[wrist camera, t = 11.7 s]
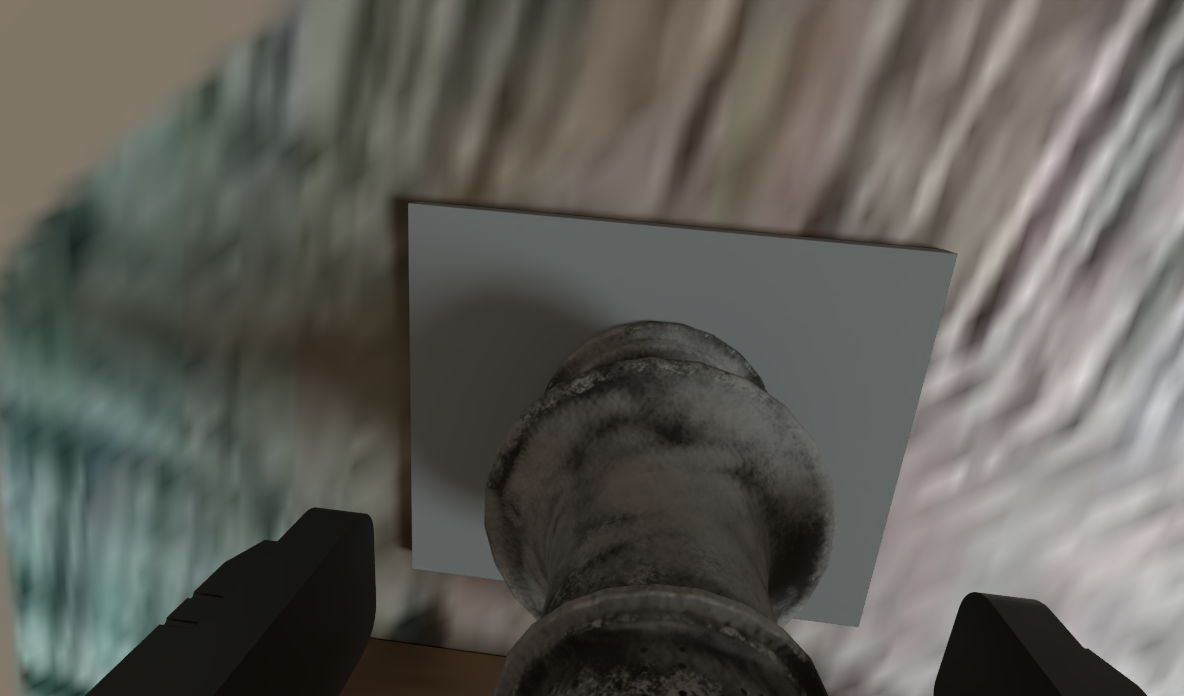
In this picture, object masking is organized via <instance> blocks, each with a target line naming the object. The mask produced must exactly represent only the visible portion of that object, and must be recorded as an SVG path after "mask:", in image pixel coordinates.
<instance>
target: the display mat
mask: <svg viewBox="0 0 1184 696" xmlns="http://www.w3.org/2000/svg"><path fill="white" fill-rule="evenodd" d="M408 236H409V322H410V407H411V493H412V569H419V570H427V571H434V572H442V573H449V574H457V575H465V576H472V577H480V578H488V579H495V580H503V581H505V580H504V579H503V577H502V575H501V574H500V572H499V570H498V568H497V567H496V565H495V563H494V559H493V556H492V552H491V548H490V545H489V541H488V538H487V534H486V530H485V527H484V518H485V485H486V482H487V479H488V476H489V473H490V470H491V467H492V464H493V461H494V458H495V455H496V452H497V449H498V447H499V445H500V444H501V442H502V441H503V439H504V438H505V436H506V435H507V434H508V432H509V431H510V429H511V428H512V426H513V425H514V424H515V422H516V421H517V419H518V418H519V416H520V415H521V414H522V412H523V411H524V410H525V409H526V408H528V407H529V406H530V405H531V404H533V403H534V402H535V401H536V400H538V399H539V398H540V397H541V396H543V395H544V394H545V391H546V388H547V385H548V383H549V381H550V380H551V378H552V377H553V376H554V374H555V373H556V371H557V370H558V369H559V367H560V366H561V364H562V363H563V361H564V360H565V359H566V358H567V357H568V356H569V355H570V354H572V353H573V352H574V351H575V350H577V349H578V348H579V347H580V346H582V345H583V344H584V343H585V342H586V341H588V340H589V339H591V338H593V337H595V336H598V335H600V334H602V333H604V332H606V331H609V330H611V329H613V328H615V327H618V326H623V325H629V324H635V323H641V322H647V321H657V322H668V323H679V324H685V325H688V326H691V327H693V328H696V329H699V330H702V331H705V332H707V333H710V334H713V335H715V336H717V337H718V338H719V339H721V340H722V341H724V342H725V343H727V344H728V345H730V346H731V347H732V348H734V349H735V350H737V351H738V352H740V353H741V354H742V355H743V357H744V358H745V359H746V360H747V361H748V363H749V364H750V365H751V366H752V367H753V369H754V370H755V371H756V372H757V373H758V375H759V376H760V377H761V379H762V381H763V383H764V386H765V388H766V390H767V393H768V394H769V395H771V396H772V397H774V398H775V399H777V400H778V401H780V402H781V403H782V404H784V405H785V406H786V407H787V408H788V409H789V410H790V412H791V413H792V414H793V415H794V416H795V418H796V419H797V420H798V421H799V422H800V424H801V425H802V426H803V427H804V428H805V430H806V431H807V432H808V433H809V434H810V436H811V437H812V438H813V439H814V440H815V442H816V444H817V446H818V448H819V451H820V453H821V456H822V458H823V460H824V463H825V465H826V467H827V470H828V472H829V474H830V477H831V479H832V482H833V484H834V494H835V504H836V515H837V525H838V526H837V531H836V535H835V540H834V545H833V549H832V554H831V558H830V563H829V567H828V568H827V570H826V572H825V574H824V576H823V577H822V579H821V581H820V583H819V584H818V586H817V588H816V590H815V592H814V593H813V595H812V597H811V599H810V601H809V602H808V603H807V604H806V605H805V606H804V607H803V608H802V609H801V610H800V611H799V612H798V613H797V614H796V615H795V616H794V617H793V619H801V620H808V621H816V622H824V623H831V624H839V625H847V626H854V627H858V626H859V623H860V619H861V615H862V611H863V608H864V604H865V600H866V596H867V593H868V589H869V585H870V581H871V578H872V574H873V570H874V566H875V563H876V559H877V555H878V551H879V548H880V544H881V540H882V536H883V532H884V529H885V525H886V521H887V517H888V514H889V510H890V506H891V502H892V499H893V495H894V491H895V487H896V484H897V480H898V476H899V472H900V469H901V465H902V461H903V457H904V454H905V450H906V446H907V442H908V439H909V435H910V431H911V427H912V424H913V420H914V416H915V412H916V409H917V405H918V401H919V397H920V394H921V390H922V386H923V382H924V379H925V375H926V371H927V367H928V363H929V360H930V356H931V352H932V348H933V345H934V341H935V337H936V333H937V330H938V326H939V322H940V318H941V315H942V311H943V307H944V303H945V300H946V296H947V292H948V288H949V285H950V281H951V277H952V273H953V270H954V266H955V262H956V258H957V255H958V254H956V253H953V252H950V251H947V250H943V249H932V248H921V247H911V246H900V245H889V244H878V243H867V242H856V241H845V240H834V239H824V238H813V237H802V236H791V235H780V234H769V233H758V232H747V231H737V230H726V229H715V228H704V227H693V226H682V225H671V224H660V223H650V222H639V221H628V220H617V219H606V218H595V217H584V216H574V215H563V214H552V213H541V212H530V211H519V210H508V209H497V208H487V207H476V206H465V205H454V204H443V203H432V202H421V201H417V202H412V203H408Z"/></svg>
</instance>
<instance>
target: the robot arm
mask: <svg viewBox="0 0 1184 696" xmlns="http://www.w3.org/2000/svg"><path fill="white" fill-rule="evenodd" d="M375 613H376V584H375V555H374V529H373V522H372V519H371V517H370V516H369V515H368V514H363V513H355V512H348V511H340V510H332V509H324V508H311V509H310V510H308V511H307V512H306V513H305V514H304V515H303V516H302V517H301V518H300V519H299V520H298V521H297V522H296V523H295V524H294V525H293V526H292V527H291V528H290V529H289V530H288V531H287V532H286V533H285V534H284V535H283V536H282V537H281V538H280V539H279V540H278V541H270V540H264V541H262V542H260V543H259V544H257V545H255V546H253V547H251V548H250V549H248V550H246V551H244V552H242V553H241V554H239V555H237V556H235V557H234V558H232V559H230V560H228V561H226V562H225V563H224V564H223V565H221V566H220V567H219V568H218V569H217V570H216V571H215V572H214V573H213V574H212V575H211V576H210V577H209V578H208V579H207V580H206V581H205V582H204V583H203V584H202V585H201V586H199V587H198V588H197V589H196V590H195V591H194V594H193V597H192V598H191V599H190V598H187V599H186V600H185V601H184V602H183V603H182V604H181V605H180V606H178V607H177V608H176V609H175V610H174V611H173V612H172V613H171V614H170V615H169V616H168V617H167V620H166V623H165V624H164V625H159V626H157V627H156V628H155V629H154V630H153V631H152V632H151V633H150V634H149V635H148V636H147V637H146V638H145V639H144V640H143V641H142V642H141V643H140V644H139V645H138V646H137V647H135V648H134V649H133V650H132V651H131V652H130V653H129V654H128V655H127V656H126V657H125V658H124V659H123V660H122V661H121V662H120V663H119V664H118V665H117V666H116V667H114V668H113V669H112V670H111V671H110V672H109V673H108V674H107V675H106V676H105V677H104V678H103V679H102V680H101V681H100V682H99V683H98V684H97V685H96V686H95V687H93V688H92V689H91V690H90V691H89V692H88V693H87V694H86V695H85V696H339V695H340V693H341V691H342V690H343V688H344V686H345V684H346V683H347V681H348V679H349V677H350V676H351V674H352V672H353V671H354V669H355V667H356V665H357V664H358V662H359V660H360V658H361V657H362V655H363V653H364V651H365V649H366V646H367V644H368V641H369V639H370V636H371V632H372V629H373V625H374V620H375ZM934 696H1147V695H1146V694H1145V693H1144V692H1143V691H1142V689H1141V688H1140V687H1139V686H1138V685H1136V684H1135V683H1134V682H1132V681H1131V680H1130V679H1128V678H1127V677H1126V676H1124V675H1123V674H1121V673H1120V672H1119V671H1117V670H1116V669H1115V668H1113V667H1112V666H1111V665H1109V664H1108V663H1107V662H1105V661H1104V660H1103V659H1101V658H1100V657H1099V656H1097V655H1096V654H1095V653H1093V652H1092V651H1091V650H1089V649H1085V648H1083V647H1082V646H1081V644H1080V643H1079V642H1078V641H1077V640H1076V639H1075V638H1074V636H1073V635H1072V634H1071V633H1070V632H1069V631H1068V630H1067V629H1066V627H1065V626H1064V625H1063V624H1062V623H1061V622H1060V621H1059V619H1058V618H1057V617H1056V616H1055V615H1054V614H1053V613H1052V612H1051V610H1050V609H1049V608H1048V607H1047V606H1046V605H1044V604H1043V603H1041V602H1039V601H1037V600H1033V599H1025V598H1017V597H1009V596H1001V595H993V594H985V593H977V592H973V593H970V594H968V595H967V596H966V597H965V598H964V599H963V601H962V602H961V605H960V607H959V610H958V613H957V616H956V619H955V622H954V626H953V629H952V632H951V635H950V638H949V641H948V644H947V647H946V650H945V653H944V656H943V659H942V662H941V665H940V669H939V672H938V675H937V678H936V681H935V686H934Z"/></svg>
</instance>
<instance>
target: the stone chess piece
mask: <svg viewBox="0 0 1184 696" xmlns="http://www.w3.org/2000/svg"><path fill="white" fill-rule="evenodd" d="M837 526H838V525H837V515H836V504H835V494H834V484H833V482H832V479H831V477H830V474H829V472H828V470H827V467H826V465H825V463H824V460H823V458H822V456H821V453H820V451H819V448H818V446H817V444H816V442H815V440H814V439H813V438H812V437H811V436H810V434H809V433H808V432H807V431H806V430H805V428H804V427H803V426H802V425H801V424H800V422H799V421H798V420H797V419H796V418H795V416H794V415H793V414H792V413H791V412H790V410H789V409H788V408H787V407H786V406H785V405H784V404H782V403H781V402H780V401H778V400H777V399H775V398H774V397H772V396H771V395H769V394H768V393H767V390H766V388H765V386H764V383H763V381H762V379H761V377H760V376H759V375H758V373H757V372H756V371H755V370H754V369H753V367H752V366H751V365H750V364H749V363H748V361H747V360H746V359H745V358H744V357H743V355H742V354H741V353H740V352H738V351H737V350H735V349H734V348H732V347H731V346H730V345H728V344H727V343H725V342H724V341H722V340H721V339H719V338H718V337H717V336H715V335H713V334H710V333H707V332H705V331H702V330H699V329H696V328H693V327H691V326H688V325H685V324H679V323H668V322H657V321H647V322H641V323H635V324H629V325H623V326H618V327H615V328H613V329H611V330H609V331H606V332H604V333H602V334H600V335H598V336H595V337H593V338H591V339H589V340H588V341H586V342H585V343H584V344H583V345H582V346H580V347H579V348H578V349H577V350H575V351H574V352H573V353H572V354H570V355H569V356H568V357H567V358H566V359H565V360H564V361H563V363H562V364H561V366H560V367H559V369H558V370H557V371H556V373H555V374H554V376H553V377H552V378H551V380H550V381H549V383H548V385H547V388H546V391H545V394H544V395H543V396H541V397H540V398H539V399H538V400H536V401H535V402H534V403H533V404H531V405H530V406H529V407H528V408H526V409H525V410H524V411H523V412H522V414H521V415H520V416H519V418H518V419H517V421H516V422H515V424H514V425H513V426H512V428H511V429H510V431H509V432H508V434H507V435H506V436H505V438H504V439H503V441H502V442H501V444H500V445H499V447H498V449H497V452H496V455H495V458H494V461H493V464H492V467H491V470H490V473H489V476H488V479H487V482H486V485H485V518H484V527H485V530H486V534H487V538H488V541H489V545H490V548H491V552H492V556H493V559H494V563H495V565H496V567H497V568H498V570H499V572H500V574H501V575H502V577H503V579H504V580H505V582H506V584H507V585H508V587H509V589H510V590H511V592H512V594H513V595H514V597H515V598H516V599H517V600H518V601H519V602H520V603H521V604H522V605H523V606H524V607H525V608H526V609H527V610H528V611H529V612H530V613H531V614H532V615H533V616H534V617H535V618H536V619H537V620H538V621H537V622H535V623H534V624H532V625H531V626H530V628H529V629H528V630H527V631H526V632H525V633H524V635H523V636H522V637H521V638H520V639H519V641H518V642H517V643H516V644H515V645H514V647H513V648H512V649H511V650H510V651H509V652H508V655H507V657H506V660H505V662H504V665H503V667H502V670H501V672H500V675H499V677H498V680H497V682H496V685H495V688H494V696H828V694H827V692H826V689H825V687H824V685H823V683H822V681H821V679H820V677H819V675H818V673H817V670H816V668H815V666H814V664H813V662H812V660H811V658H810V657H809V656H808V655H807V654H806V653H805V652H804V651H803V649H802V648H801V647H800V646H799V645H798V644H797V643H796V642H795V641H794V640H793V639H792V638H791V636H790V635H789V634H788V633H787V632H786V631H785V630H784V629H783V627H784V626H785V625H786V624H787V623H788V622H789V621H790V620H791V619H792V618H793V617H794V616H795V615H796V614H797V613H798V612H799V611H800V610H801V609H802V608H803V607H804V606H805V605H806V604H807V603H808V602H809V601H810V599H811V597H812V595H813V593H814V592H815V590H816V588H817V586H818V584H819V583H820V581H821V579H822V577H823V576H824V574H825V572H826V570H827V568H828V567H829V563H830V558H831V554H832V549H833V545H834V540H835V535H836V531H837Z"/></svg>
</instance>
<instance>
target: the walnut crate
mask: <svg viewBox="0 0 1184 696" xmlns="http://www.w3.org/2000/svg"><path fill="white" fill-rule="evenodd" d="M505 660H506V657H500V656H493V655H485V654H478V653H471V652H464V651H457V650H449V649H442V648H435V647H428V646H421V645H413V644H406V643H399V642H392V641H385V640H377V639H369V641H368V644H367V646H366V649H365V651H364V653H363V655H362V657H361V658H360V660H359V662H358V664H357V665H356V667H355V669H354V671H353V672H352V674H351V676H350V677H349V679H348V681H347V683H346V684H345V686H344V688H343V690H342V691H341V693H340V695H339V696H494V688H495V685H496V682H497V680H498V677H499V675H500V672H501V670H502V667H503V665H504V662H505Z"/></svg>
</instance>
